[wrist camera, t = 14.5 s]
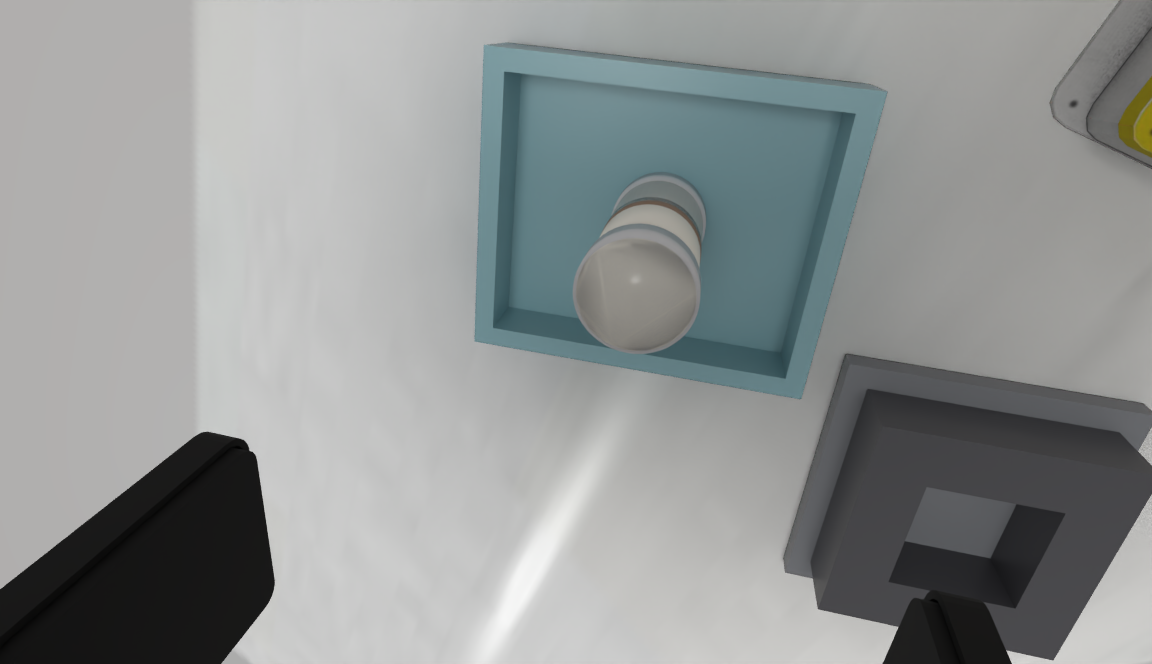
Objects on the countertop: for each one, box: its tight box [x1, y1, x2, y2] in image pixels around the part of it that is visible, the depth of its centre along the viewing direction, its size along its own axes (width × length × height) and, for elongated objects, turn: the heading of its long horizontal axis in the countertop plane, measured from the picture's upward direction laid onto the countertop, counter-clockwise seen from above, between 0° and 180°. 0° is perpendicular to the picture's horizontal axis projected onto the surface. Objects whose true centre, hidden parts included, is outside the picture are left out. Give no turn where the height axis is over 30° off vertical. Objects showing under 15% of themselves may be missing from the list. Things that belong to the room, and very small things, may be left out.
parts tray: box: [475, 43, 887, 399], centre depth 27 cm, size 14×12×3 cm
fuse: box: [573, 172, 706, 354], centre depth 24 cm, size 4×4×9 cm
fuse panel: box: [783, 354, 1152, 660], centre depth 30 cm, size 12×12×4 cm
